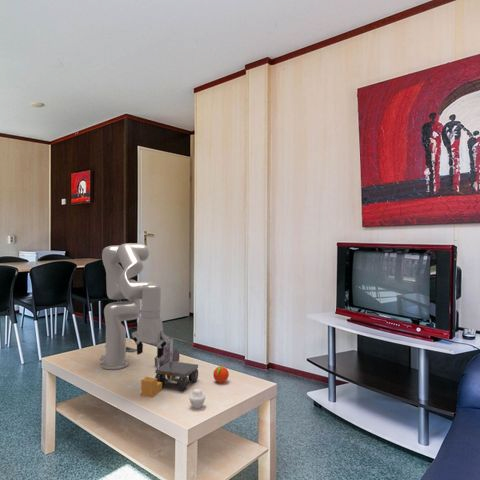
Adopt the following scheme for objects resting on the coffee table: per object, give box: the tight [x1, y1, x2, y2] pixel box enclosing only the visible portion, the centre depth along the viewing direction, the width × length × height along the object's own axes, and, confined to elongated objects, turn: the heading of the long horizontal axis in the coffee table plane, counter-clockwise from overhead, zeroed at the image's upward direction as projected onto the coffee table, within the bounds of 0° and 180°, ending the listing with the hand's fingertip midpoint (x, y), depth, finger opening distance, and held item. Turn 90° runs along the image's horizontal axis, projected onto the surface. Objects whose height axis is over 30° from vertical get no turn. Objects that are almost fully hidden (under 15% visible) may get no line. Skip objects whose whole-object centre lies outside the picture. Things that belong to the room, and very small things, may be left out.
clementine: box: [213, 366, 230, 383], centre depth 172 cm, size 8×7×7 cm
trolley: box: [154, 338, 199, 392], centre depth 169 cm, size 14×16×18 cm
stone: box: [154, 343, 181, 367], centre depth 196 cm, size 10×6×15 cm
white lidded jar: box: [188, 388, 206, 410], centre depth 147 cm, size 6×6×7 cm
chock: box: [140, 376, 163, 398], centre depth 159 cm, size 5×8×6 cm, turn 161°
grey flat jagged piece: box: [104, 345, 137, 353], centre depth 220 cm, size 21×7×2 cm, turn 57°
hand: (149, 355), depth 159 cm, fingers open, 9 cm apart
